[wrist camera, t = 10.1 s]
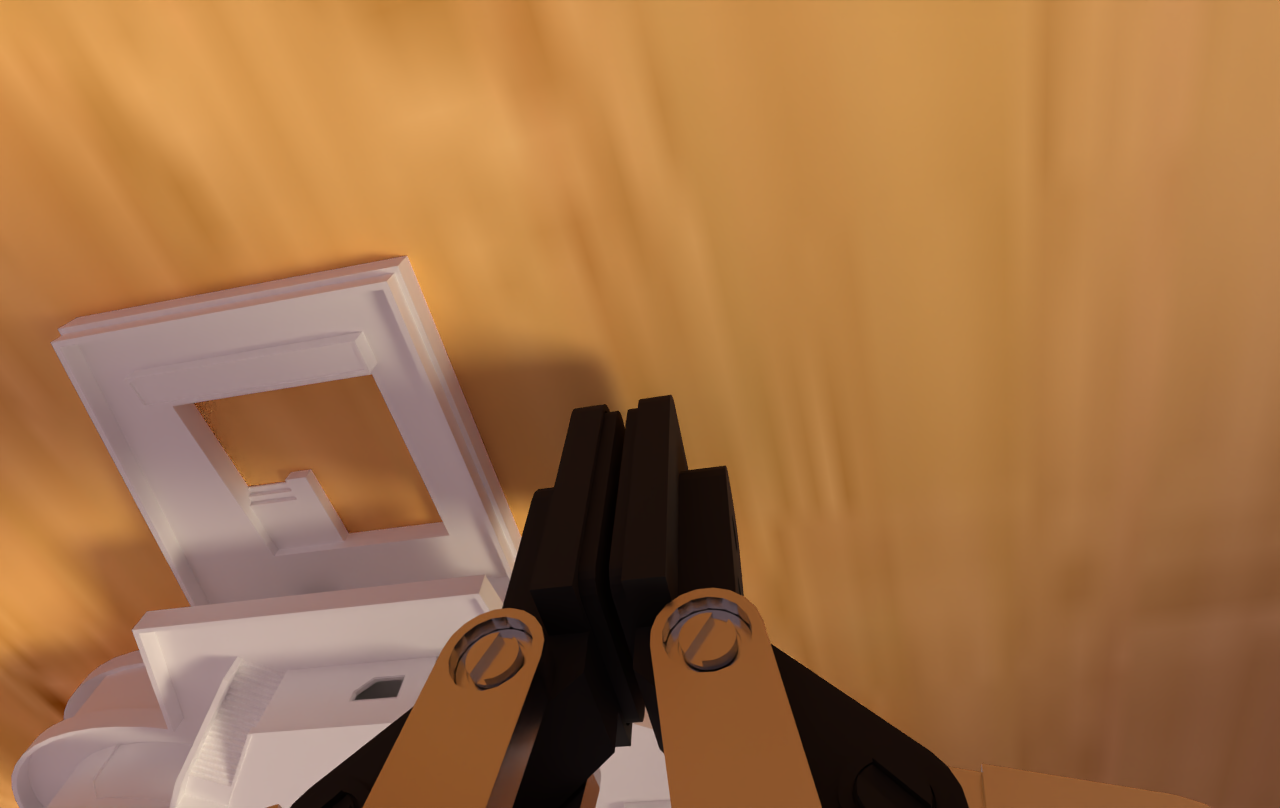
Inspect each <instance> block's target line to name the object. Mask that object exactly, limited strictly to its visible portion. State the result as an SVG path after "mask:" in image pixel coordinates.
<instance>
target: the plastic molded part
mask: <svg viewBox="0 0 1280 808" xmlns="http://www.w3.org/2000/svg"><path fill="white" fill-rule="evenodd" d="M58 330H59V332H60V334H61V336H60V337H59V338H57V339H55V340H54V341H52V342H50V343H51V345H52V346H53V348H54V350H55V352H56V354H57V356H58V358H59V360H60V361H61V363H62V365H63V367H64V369H65V371H66V373H67V375H68V376H69V378H70V380H71V382H72V384H73V386H74V388H75V390H76V391H77V393H78V395H79V397H80V399H81V401H82V403H83V405H84V407H85V408H86V410H87V412H88V414H89V416H90V418H91V420H92V422H93V423H94V425H95V427H96V429H97V431H98V433H99V435H100V437H101V438H102V440H103V442H104V444H105V446H106V448H107V450H108V452H109V453H110V455H111V457H112V459H113V461H114V463H115V465H116V467H117V469H118V470H119V472H120V474H121V476H122V478H123V480H124V482H125V484H126V485H127V487H128V489H129V491H130V493H131V495H132V497H133V499H134V500H135V502H136V504H137V506H138V508H139V510H140V512H141V514H142V515H143V517H144V519H145V521H146V523H147V525H148V527H149V529H150V530H151V532H152V534H153V536H154V538H155V540H156V542H157V544H158V546H159V547H160V549H161V551H162V553H163V555H164V557H165V559H166V561H167V562H168V564H169V566H170V568H171V570H172V572H173V574H174V576H175V577H176V579H177V581H178V583H179V585H180V587H181V589H182V591H183V592H184V594H185V596H186V598H187V600H188V602H189V604H190V606H191V607H183V608H174V609H165V610H155V611H147V612H146V613H145V614H144V616H143V617H142V618H141V619H140V621H139V622H138V623H137V624H136V625H135V627H134V628H133V629H132V632H133V635H134V637H135V640H136V643H137V645H138V648H139V650H138V651H133V652H130V653H127V654H124V655H121V656H118V657H115V658H113V659H111V660H109V661H107V662H106V663H104V664H102V665H100V666H99V667H98V668H96V669H95V670H94V671H93V672H91V673H90V674H89V675H88V676H87V677H86V679H85V680H84V681H83V682H82V683H81V685H80V686H79V687H78V688H77V690H76V691H75V692H74V694H73V695H72V696H71V698H70V699H69V700H68V703H67V706H66V708H65V711H64V720H63V721H61V722H59V723H57V724H55V725H53V726H51V727H49V728H48V729H47V730H45V731H44V732H43V733H41V734H40V735H39V736H38V737H37V738H36V739H35V740H34V742H33V743H32V744H31V745H30V746H29V748H28V749H27V750H26V751H25V753H24V754H23V755H22V756H21V758H20V759H19V760H18V762H17V763H16V765H15V767H14V770H13V774H12V790H13V793H14V797H15V800H16V802H17V804H18V806H19V807H20V808H266V807H270V806H273V805H276V804H279V805H280V806H281V807H282V808H290V807H291V805H292V804H293V803H294V802H295V801H296V800H297V799H298V798H299V797H301V796H302V795H303V794H304V793H305V792H306V791H307V790H308V789H309V788H310V787H312V786H313V785H314V784H315V783H317V782H318V781H319V780H320V779H322V778H323V777H324V776H326V775H327V774H328V773H329V772H331V771H332V770H333V769H334V768H336V767H337V766H338V765H340V764H341V763H342V762H343V761H345V760H346V759H347V758H348V757H350V756H351V755H352V754H354V753H355V752H356V751H357V750H359V749H360V748H361V747H362V746H364V745H365V744H366V743H368V742H369V741H370V740H371V739H373V738H374V737H375V736H376V735H378V734H379V733H380V732H381V731H383V730H384V729H385V728H387V727H388V726H389V725H390V724H392V723H393V722H394V721H395V720H397V719H398V718H399V717H401V716H402V715H403V714H404V713H406V712H407V711H408V710H409V709H411V708H412V707H413V706H414V704H415V703H416V701H417V699H418V697H419V695H420V693H421V691H422V689H423V687H424V685H425V683H426V681H427V679H428V677H429V675H430V673H431V671H432V669H433V667H434V665H435V663H436V661H437V659H438V657H439V655H440V653H441V651H442V649H443V648H444V646H445V645H446V643H447V642H448V640H449V639H450V637H451V636H452V635H453V634H454V633H455V632H456V631H457V630H458V629H459V628H460V627H461V626H463V625H464V624H465V623H467V622H468V621H470V620H472V619H473V618H475V617H477V616H478V615H481V614H483V613H486V612H489V611H492V610H495V609H502V607H503V603H504V599H505V596H506V592H507V589H508V585H509V581H510V578H511V574H512V570H513V567H514V563H515V560H516V556H517V552H518V549H519V545H520V541H521V535H520V533H519V530H518V528H517V525H516V523H515V520H514V518H513V515H512V513H511V510H510V508H509V506H508V503H507V501H506V498H505V496H504V493H503V491H502V488H501V486H500V483H499V481H498V478H497V476H496V473H495V471H494V468H493V466H492V464H491V461H490V459H489V456H488V454H487V451H486V449H485V446H484V444H483V441H482V439H481V436H480V434H479V431H478V429H477V426H476V424H475V422H474V419H473V417H472V414H471V412H470V409H469V407H468V404H467V402H466V399H465V397H464V394H463V392H462V389H461V387H460V384H459V382H458V380H457V377H456V375H455V372H454V370H453V367H452V365H451V362H450V360H449V357H448V355H447V352H446V350H445V347H444V345H443V342H442V340H441V337H440V335H439V333H438V330H437V328H436V325H435V323H434V320H433V318H432V315H431V313H430V310H429V308H428V305H427V303H426V300H425V298H424V295H423V293H422V291H421V288H420V286H419V283H418V281H417V278H416V276H415V273H414V271H413V268H412V266H411V263H410V261H409V258H408V256H402V257H397V258H391V259H386V260H381V261H375V262H370V263H365V264H359V265H354V266H349V267H344V268H338V269H333V270H328V271H322V272H317V273H312V274H306V275H301V276H296V277H290V278H285V279H280V280H274V281H269V282H264V283H258V284H253V285H248V286H242V287H237V288H232V289H226V290H221V291H216V292H210V293H205V294H200V295H194V296H189V297H184V298H178V299H173V300H168V301H162V302H157V303H152V304H146V305H141V306H136V307H130V308H125V309H120V310H115V311H109V312H104V313H99V314H93V315H88V316H83V317H77V318H75V319H74V320H72V321H70V322H69V323H67V324H65V325H64V326H62V327H60V328H59V329H58ZM371 374H372V375H373V377H374V379H375V381H376V384H377V386H378V388H379V390H380V392H381V394H382V396H383V398H384V400H385V402H386V404H387V406H388V409H389V411H390V413H391V415H392V417H393V419H394V421H395V423H396V425H397V427H398V429H399V431H400V434H401V436H402V438H403V440H404V442H405V444H406V446H407V448H408V450H409V452H410V454H411V456H412V459H413V461H414V463H415V465H416V467H417V469H418V471H419V473H420V475H421V477H422V479H423V481H424V484H425V486H426V488H427V490H428V492H429V494H430V496H431V498H432V500H433V502H434V504H435V506H436V509H437V511H438V513H439V515H440V517H441V519H442V521H443V522H437V523H429V524H421V525H413V526H405V527H397V528H389V529H380V530H372V531H364V532H356V533H348V531H347V529H346V528H345V526H344V524H343V523H342V521H341V519H340V518H339V516H338V514H337V512H336V511H335V509H334V507H333V506H332V504H331V502H330V500H329V499H328V497H327V495H326V494H325V492H324V490H323V488H322V487H321V485H320V483H319V482H318V480H317V478H316V477H315V475H314V473H313V471H312V470H311V469H309V470H302V471H295V472H291V473H290V474H289V475H288V477H287V478H286V479H285V481H286V482H279V483H272V484H265V485H257V486H250V487H248V485H247V484H246V482H245V481H244V479H243V478H242V476H241V475H240V473H239V472H238V470H237V469H236V467H235V466H234V464H233V462H232V461H231V459H230V458H229V456H228V455H227V453H226V452H225V450H224V449H223V447H222V446H221V444H220V443H219V441H218V440H217V438H216V437H215V435H214V434H213V432H212V431H211V429H210V428H209V426H208V425H207V423H206V422H205V420H204V418H203V417H202V415H201V414H200V412H199V411H198V409H197V408H196V406H195V405H194V403H197V402H203V401H209V400H215V399H222V398H228V397H234V396H240V395H246V394H253V393H259V392H265V391H271V390H278V389H284V388H290V387H296V386H302V385H309V384H315V383H321V382H327V381H334V380H340V379H346V378H352V377H358V376H365V375H371ZM600 771H601V782H600V791H599V795H598V799H597V803H596V807H595V808H671V802H670V794H669V786H668V779H667V771H666V763H665V756H664V753H663V752H662V751H661V750H660V749H659V746H658V743H657V740H656V737H655V734H654V731H653V728H652V725H651V722H650V719H649V716H648V713H647V710H646V707H645V715H644V720H643V722H637V723H632V737H631V746H625V747H615V753H614V754H613V755H612V756H611V757H610V758H609V759H608V760H607V761H606V762H605V763H604V764H602V765H601V766H600Z"/></svg>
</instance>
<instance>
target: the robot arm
mask: <svg viewBox="0 0 1280 808" xmlns="http://www.w3.org/2000/svg"><path fill="white" fill-rule="evenodd" d="M645 707H646V710H647V713H648V716H649V719H650V722H651V725H652V728H653V731H654V734H655V737H656V740H657V743H658V746H659V749H660V750H661V751H662V752H663V753H664V756H665V763H666V771H667V779H668V786H669V794H670V802H671V808H1211V807H1210V806H1208V805H1206V804H1204V803H1201V802H1198V801H1195V800H1192V799H1188V798H1185V797H1182V796H1179V795H1175V794H1169V793H1163V792H1157V791H1150V790H1144V789H1138V788H1132V787H1126V786H1119V785H1113V784H1107V783H1101V782H1094V781H1088V780H1082V779H1076V778H1070V777H1063V776H1057V775H1051V774H1045V773H1038V772H1032V771H1026V770H1020V769H1014V768H1007V767H1001V766H995V765H989V764H982V767H981V772H979V771H973V770H967V769H961V768H955V767H949V766H947V765H946V764H944V763H943V762H942V761H941V760H940V759H939V758H937V757H936V756H935V755H934V754H933V753H932V752H931V751H929V750H928V749H926V748H925V747H923V746H922V745H920V744H919V743H917V742H916V741H914V740H913V739H911V738H910V737H908V736H907V735H905V734H904V733H903V732H901V731H900V730H898V729H897V728H895V727H894V726H892V725H891V724H889V723H888V722H886V721H885V720H883V719H882V718H880V717H879V716H877V715H876V714H874V713H873V712H871V711H870V710H868V709H867V708H865V707H864V706H862V705H861V704H859V703H858V702H857V701H855V700H854V699H852V698H851V697H849V696H848V695H846V694H845V693H843V692H842V691H840V690H839V689H837V688H836V687H834V686H833V685H831V684H830V683H828V682H827V681H825V680H824V679H822V678H821V677H819V676H818V675H816V674H815V673H813V672H812V671H811V670H809V669H808V668H806V667H805V666H803V665H802V664H800V663H799V662H797V661H796V660H794V659H793V658H791V657H790V656H788V655H787V654H785V653H784V652H782V651H781V650H779V649H778V648H776V647H775V646H773V645H772V644H771V643H770V640H769V637H768V634H767V631H766V628H765V624H764V621H763V619H762V617H761V615H760V613H759V611H758V610H757V608H756V607H755V606H754V605H753V604H752V603H751V602H750V601H749V600H748V599H747V598H745V597H744V594H743V583H742V573H741V562H740V552H739V543H738V534H737V527H736V519H735V513H734V506H733V500H732V494H731V488H730V482H729V477H728V471H727V467H726V466H719V467H711V468H703V469H695V470H688V466H687V461H686V457H685V452H684V447H683V442H682V437H681V433H680V428H679V423H678V418H677V414H676V409H675V404H674V400H673V397H672V395H667V396H660V397H653V398H646V399H640V400H639V403H638V408H636V409H629V410H628V412H627V420H626V428H625V427H624V423H623V419H622V416H621V413H620V412H619V411H615V412H610V411H609V409H608V407H607V405H606V404H604V405H597V406H590V407H583V408H576V409H574V410H573V412H572V415H571V419H570V423H569V428H568V432H567V436H566V440H565V444H564V448H563V453H562V457H561V461H560V465H559V469H558V473H557V477H556V482H555V486H554V487H553V488H545V489H538V490H537V491H536V492H535V493H534V496H533V498H532V501H531V505H530V509H529V512H528V516H527V520H526V523H525V527H524V531H523V534H522V538H521V541H520V545H519V549H518V552H517V556H516V560H515V563H514V567H513V570H512V574H511V578H510V581H509V585H508V589H507V592H506V596H505V599H504V603H503V607H502V609H495V610H492V611H489V612H486V613H483V614H481V615H478V616H477V617H475V618H473V619H472V620H470V621H468V622H467V623H465V624H464V625H463V626H461V627H460V628H459V629H458V630H457V631H456V632H455V633H454V634H453V635H452V636H451V637H450V639H449V640H448V642H447V643H446V645H445V646H444V648H443V649H442V651H441V653H440V655H439V657H438V659H437V661H436V663H435V665H434V667H433V669H432V671H431V673H430V675H429V677H428V679H427V681H426V683H425V685H424V687H423V689H422V691H421V693H420V695H419V697H418V699H417V701H416V703H415V704H414V706H413V707H412V708H411V709H409V710H408V711H407V712H406V713H404V714H403V715H402V716H401V717H399V718H398V719H397V720H395V721H394V722H393V723H392V724H390V725H389V726H388V727H387V728H385V729H384V730H383V731H381V732H380V733H379V734H378V735H376V736H375V737H374V738H373V739H371V740H370V741H369V742H368V743H366V744H365V745H364V746H362V747H361V748H360V749H359V750H357V751H356V752H355V753H354V754H352V755H351V756H350V757H348V758H347V759H346V760H345V761H343V762H342V763H341V764H340V765H338V766H337V767H336V768H334V769H333V770H332V771H331V772H329V773H328V774H327V775H326V776H324V777H323V778H322V779H320V780H319V781H318V782H317V783H315V784H314V785H313V786H312V787H310V788H309V789H308V790H307V791H306V792H305V793H304V794H303V795H302V796H301V797H299V798H298V799H297V800H296V801H295V802H294V803H293V804H292V805H291V807H290V808H595V807H596V803H597V799H598V795H599V791H600V782H601V771H600V766H601V765H602V764H604V763H605V762H606V761H607V760H608V759H609V758H610V757H611V756H612V755H613V754H614V753H615V747H625V746H631V737H632V723H637V722H643V720H644V715H645ZM266 808H282V807H281V806H280V805H279V804H276V805H273V806H270V807H266Z"/></svg>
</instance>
